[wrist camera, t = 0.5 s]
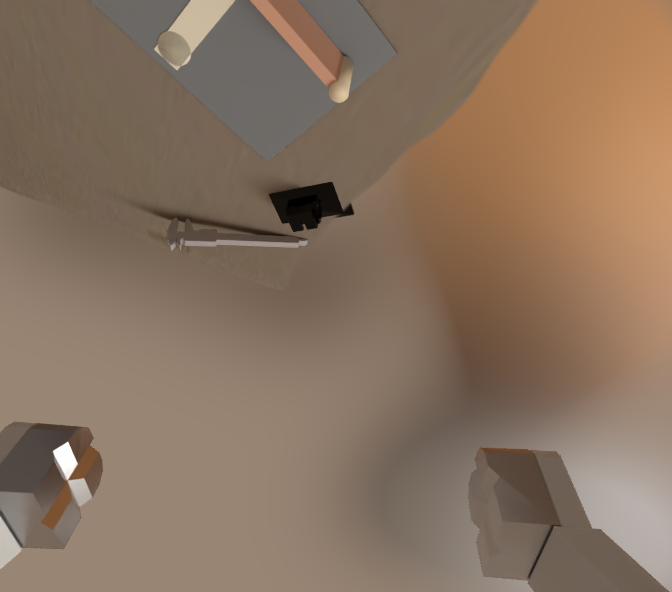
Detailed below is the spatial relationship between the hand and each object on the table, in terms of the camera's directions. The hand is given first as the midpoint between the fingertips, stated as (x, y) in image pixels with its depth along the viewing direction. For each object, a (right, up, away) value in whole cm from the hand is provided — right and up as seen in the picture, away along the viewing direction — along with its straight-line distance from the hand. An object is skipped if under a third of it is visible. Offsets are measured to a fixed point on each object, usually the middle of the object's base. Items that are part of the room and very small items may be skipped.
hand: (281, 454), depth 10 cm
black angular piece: (-3, +17, +56) cm, 59 cm away
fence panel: (-2, +31, +37) cm, 49 cm away
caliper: (-13, +14, +61) cm, 64 cm away
